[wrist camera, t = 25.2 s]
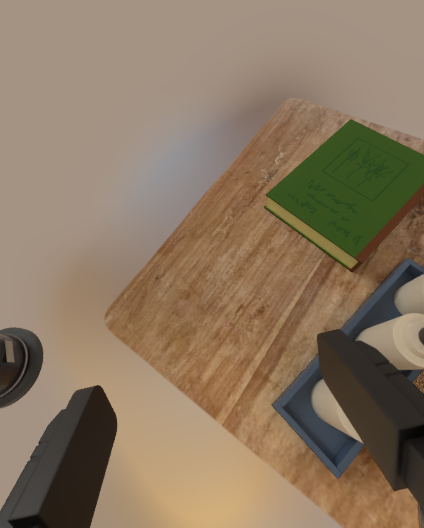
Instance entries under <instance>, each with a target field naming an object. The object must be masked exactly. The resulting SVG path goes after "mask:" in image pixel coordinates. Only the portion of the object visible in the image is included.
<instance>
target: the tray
mask: <svg viewBox="0 0 424 528" xmlns="http://www.w3.org/2000/svg"><path fill="white" fill-rule="evenodd" d="M423 274H424V268H423V267H422V266H420V265H419V264H417V263H416V262H414V261H413V260H411V259H410V258H407V259H406V260H404V261H403V262H401V263H400V264H398V266H397V267H396V268H395V269H394V270H393V271H392V272H391V273H390V274H389V276H388V277H387V278H386V279H385V280H384V281H383V282H382V283H381V284H380V286H379V287H378V288H377V289H376V290H375V291H374V292H373V293H372V294H371V296H370V297H369V298H368V299H367V300H366V301H365V302H364V303H363V304H362V306H361V307H360V308H359V309H358V310H357V311H356V312H355V313H354V314H353V316H352V317H351V318H350V319H349V320H348V321H347V322H346V323H345V324H344V325H343V327H342V328H341V329H340V330H342V331H343V332H344V333H345V334H346V335H347V336H348V337H349V338H350V339H351V340H352V341H353V342H354V341H355V338H356V336H357V335H358V333H359V332H361V331H362V330H364V329H367V328H370V327H373V326H375V325H378V324H381V323H384V322H386V321H389V320H392V319H395V318H397V317H400V316H403V315H402V314H401V313H400V312H399V311H398V309H397V308H396V306H395V303H394V294H395V291H396V290H397V289H398V288H399V287H401V286H403V285H404V284H406V283H408V282H410V281H412V280H413V279H415V278H417V277H419V276H421V275H423ZM422 370H423V369H415V370H399V371H400V373H401V374H404V375H405V376H406V377H407V378H408V379H409V380H410V381H411V382H412V383H413V382H414V381H415V379H416V378H417V377H418V375H419V374H420V373H421V372H422ZM321 379H323V377H322V374H321V371H320V366H319V354H317V355H316V357H315V358H314V359H313V360H312V361H311V362H310V363H309V364H308V365H307V367H306V368H305V369H304V370H303V371H302V372H301V373H300V374H299V375H298V377H297V378H296V379H295V380H294V381H293V382H292V383H291V384H290V385H289V387H288V388H287V389H286V390H285V391H284V392H283V393H282V394H281V395H280V397H279V398H278V399H277V400H276V401H275V402H274V403H273V404H272V406H273V407H274V408H275V409H276V411H277V412H278V413H279V414H280V415H281V416H282V417H283V418H284V420H285V421H286V422H287V423H288V424H289V425H290V426H291V427H292V428H293V430H294V431H295V432H296V433H297V434H298V435H299V436H300V437H301V439H302V440H303V441H304V442H305V443H306V444H307V445H308V446H309V448H310V449H311V450H312V451H313V452H314V453H315V454H316V455H317V457H318V458H319V459H320V460H321V461H322V462H323V463H324V464H325V466H326V467H327V468H328V469H329V470H330V471H331V472H332V473H333V474H334V476H335V477H336V478H337V479H339V478H340V476H341V475H342V473H344V471H345V470H346V469H347V467H348V466H349V465H350V464H351V462H352V461H353V460H354V458H355V457H356V456H357V454H358V453H359V452H360V451H361V449H362V448H363V447H364V443H362V442H359V441H358V440H356V439H354V438H352V437H351V436H349V435H347V434H345V433H344V432H342V431H340V430H338V429H337V428H335V427H333V426H331V425H330V424H328V423H326V422H324V421H323V420H322V419H321V418H319V416H318V415H317V414H316V413H315V411H314V409H313V407H312V403H311V391H312V388H313V386H314V385H315V383H316V382H317V381H319V380H321Z"/></svg>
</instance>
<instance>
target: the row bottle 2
mask: <svg viewBox="0 0 424 528" xmlns="http://www.w3.org/2000/svg"><path fill="white" fill-rule="evenodd" d="M394 303H395V306H396V308H397V309H398V311H399V312H400V313H401V314H402V315H406V314H410V313H419V314H423V315H424V274H423V275H421V276H419V277H417V278H415V279H413V280H412V281H410V282H408V283H406V284H404V285H403V286H401V287H399V288H398V289H397V290H396V291H395V294H394Z"/></svg>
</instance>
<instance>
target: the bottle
mask: <svg viewBox="0 0 424 528" xmlns="http://www.w3.org/2000/svg"><path fill="white" fill-rule="evenodd" d="M311 403H312V407H313V409H314V411H315V413H316V414H317V415H318V416H319V418H321V419H322V420H323V421H324V422H326V423H328V424H330V425H331V426H333V427H335V428H337V429H338V430H340V431H342V432H344V433H345V434H347V435H349V436H351V437H352V438H354V439H356V440H358V441H359V442H362V440H361V439H360V437H359V435H358V434H357V432H356V431H355V429H354V428H353V426H352V424H351V423H350V421H349V420H348V418H347V417H346V415H345V413H344V412H343V410H342V409H341V407H340V406H339V404H338V402H337V401H336V399H335V398H334V396H333V395H332V393H331V391H330V390H329V388H328V387H327V385H326V383H325V381H324V379H321V380H319V381H317V382H316V383H315V385H314V386H313V388H312V391H311ZM362 443H363V442H362Z"/></svg>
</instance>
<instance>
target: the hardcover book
mask: <svg viewBox="0 0 424 528" xmlns="http://www.w3.org/2000/svg"><path fill="white" fill-rule="evenodd" d="M266 196H267V197H268V198H267V204H266V206H264V208H265V209H267V210H268V211H270V212H271V213H272V214H274V215H275V216H276V217H278V218H279V219H280V220H282V221H283V222H284V223H286V224H287V225H289V226H290V227H291V228H293V229H294V230H295V231H297V232H298V233H299V234H301V235H302V236H303V237H305V238H306V239H307V240H309V241H310V242H312V243H313V244H314V245H316V246H317V247H318V248H320V249H321V250H322V251H324V252H325V253H326V254H328V255H329V256H331V257H332V258H333V259H335V260H336V261H337V262H339V263H340V264H341V265H343V266H344V267H345V268H347V269H348V270H350V271H351V272H353V271H354V270H355V269H356V268H358V267H359V266H360V265H361V264H362V263H363V262H364V261H365V260H366V259H367V257H368V256H369V255H370V254H371V253H372V252H373V251H374V250H375V249H376V248H377V247H378V245H379V244H380V243H381V242H382V241H383V240H384V239H385V238H386V237H387V236H388V234H389V233H390V232H391V231H392V230H393V229H394V228H395V227H396V226H397V225H398V224H399V222H400V221H401V220H402V219H403V218H404V217H405V216H406V215H407V214H408V213H409V211H410V210H411V209H412V208H413V207H414V206H415V205H416V204H417V203H418V202H419V201H420V199H421V198H422V197H423V196H424V155H423V154H421V153H419V152H417V151H415V150H412V149H410V148H408V147H406V146H404V145H402V144H400V143H398V142H396V141H394V140H392V139H390V138H388V137H386V136H384V135H382V134H380V133H378V132H376V131H374V130H372V129H370V128H368V127H366V126H364V125H362V124H360V123H358V122H356V121H353V120H349V121H348V122H347V123H346V124H345V125H344V126H343V127H342V128H340V129H339V130H338V131H337V132H336V133H335V134H334V135H333V136H331V137H330V138H329V139H328V140H327V141H326V142H325V143H323V144H322V145H321V146H320V147H319V148H318V149H317V150H316V151H314V152H313V153H312V154H311V155H310V156H309V157H308V158H307V159H305V160H304V161H303V162H302V163H301V164H300V165H299V166H298V167H296V168H295V169H294V170H293V171H292V172H291V173H290V174H289V175H287V176H286V177H285V178H284V179H283V180H282V181H281V182H279V183H278V184H277V185H276V186H275V187H274V188H273V189H272V190H270V191H269V192H268V193H267V194H266Z"/></svg>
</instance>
